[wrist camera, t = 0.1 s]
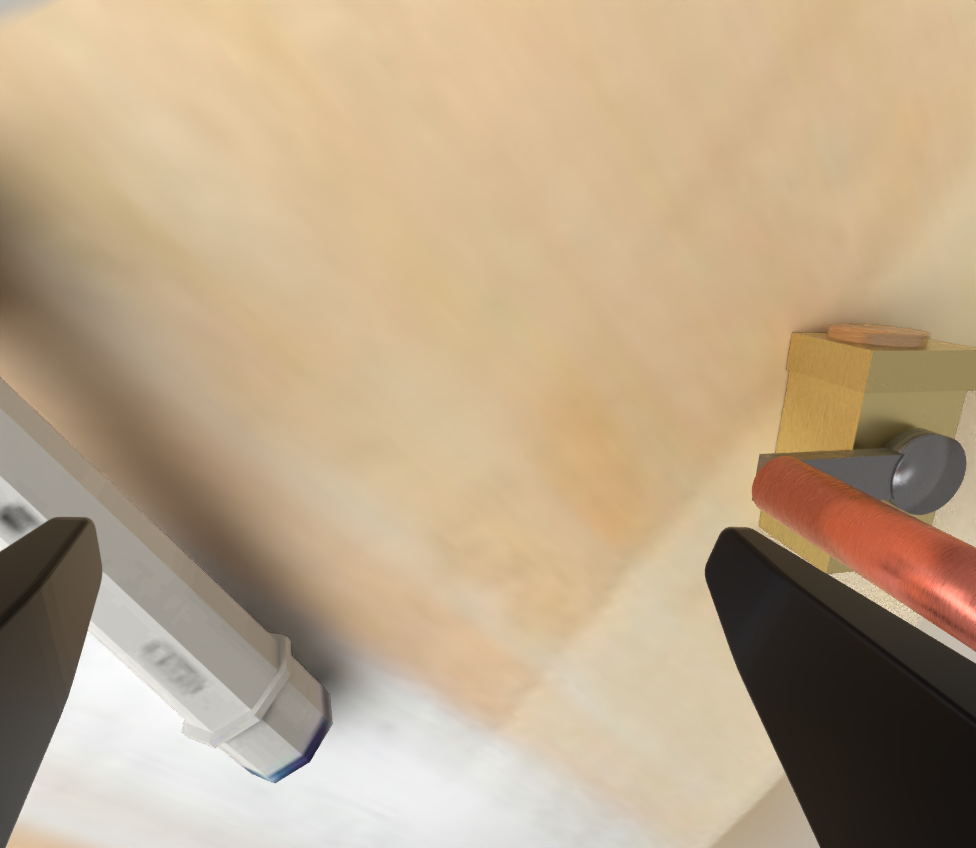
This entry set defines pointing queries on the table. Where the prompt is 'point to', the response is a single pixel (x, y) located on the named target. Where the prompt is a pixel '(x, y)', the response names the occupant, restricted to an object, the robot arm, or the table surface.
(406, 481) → the table surface
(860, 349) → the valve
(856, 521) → the lever
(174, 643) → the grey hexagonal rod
